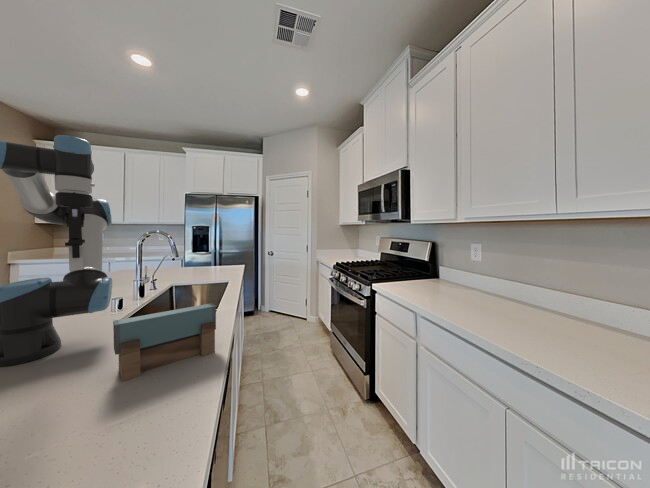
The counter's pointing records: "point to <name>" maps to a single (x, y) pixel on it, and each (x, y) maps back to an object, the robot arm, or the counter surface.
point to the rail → (163, 326)
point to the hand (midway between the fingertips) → (76, 266)
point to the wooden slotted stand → (164, 352)
